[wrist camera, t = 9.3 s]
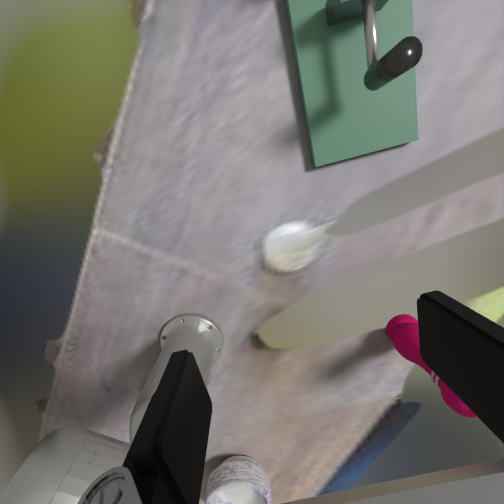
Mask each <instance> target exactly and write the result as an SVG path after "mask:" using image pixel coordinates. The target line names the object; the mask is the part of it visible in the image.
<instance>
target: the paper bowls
mask: <svg viewBox="0 0 504 504" xmlns="http://www.w3.org/2000/svg"><path fill="white" fill-rule="evenodd" d="M271 503H272V501H271V490H270V479H269V475H268V473H267V472H266V471H265V470H264V469H263V468H262V467H260V466H259V465H258V463H257V462H256V461H255V460H253V459H252V458H250V457H247V456H240V455H239V456H232V457H229V458H227V459H226V460H224V461H223V462H222V463H221V464H220V466H218V467H217V468H215V469H214V470H213V471H212V472H211V474H210V476H209V478H208V482H207V490H206V499H205V504H271Z"/></svg>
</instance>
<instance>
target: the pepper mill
mask: <svg viewBox="0 0 504 504" xmlns="http://www.w3.org/2000/svg"><path fill="white" fill-rule="evenodd" d="M386 333H387V335H388V337H389V338H390V339H391V340H392V341H393V342H394V346H395V348H396V350H397V351H398V352H399V353H400V354H401V355H402V356H403V357H404V358H406V359H407V360H409V361H411V362H413V363H415V364H417V365H419V366H421V367H422V368H423V369H424V370H425V371H426V372H428V373H429V375H430V376H431V381H432V382H433V384H434V385H436V387H437V388H438V389H439V390H440V391H441V395H442V398H443V400H444V401H445V402H446V404H447V405H448V406H449V407H450V408H451V409H452V410H454V411H455V412H457V413H458V414H460V415H463V416H466V417H471V418H476V417H477V416H476V415H475V414H474V413H473V412H472V410H471V409H470V408H469V407H468V406H467V405H466V404H465V403H464V402H463V401H462V400H461V399H460V398H459V397H458V396H457V395H456V394H455V393H454V392H453V391H452V390H451V389H450V388H449V387H448V386H447V385H446V384H445V383H444V382H443V381H442V380H441V379H440V378H439V377H438V376H437V375H436V374H435V373H434V372H433V371H432V370H431V369H430V368H429V367H428V366H427V365H426V364H425V362H424V361H423V360H422V358H421V355H420V344H419V328H418V321H417V320H416V319H415V318H414V317H412V316H410V315H406V314H402V315H398V316H395V317H394V318H392V319H391V320H390V321H389V322H388V324H387V326H386Z"/></svg>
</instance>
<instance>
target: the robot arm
mask: <svg viewBox="0 0 504 504" xmlns="http://www.w3.org/2000/svg"><path fill="white" fill-rule="evenodd" d="M417 313H418V328H419V344H420V355H421V358H422V360H423V361H424V362H425V364H426V365H427V366H428V367H429V368H430V369H431V370H432V371H433V372H434V373H435V374H436V375H437V376H438V377H439V378H440V379H441V380H442V381H443V382H444V383H445V384H446V385H447V386H448V387H449V388H450V389H451V390H452V391H453V392H454V393H455V394H456V395H457V396H458V397H459V398H460V399H461V400H462V401H463V402H464V403H465V404H466V405H467V406H468V407H469V408H470V409H471V410H472V412H473V413H474V414H475V415H476V416H477V417H478V418H479V419H480V420H481V421H482V422H483V423H484V424H485V425H486V426H487V427H488V428H489V429H490V430H491V431H492V432H493V433H494V434H495V435H496V436H497V437H498V438H499V439H500V440H501V441H502V442H503V443H504V328H503V327H502V326H500V325H498V324H496V323H495V322H493V321H491V320H489V319H488V318H486V317H484V316H482V315H481V314H479V313H477V312H475V311H474V310H472V309H470V308H468V307H467V306H465V305H463V304H461V303H460V302H458V301H456V300H454V299H453V298H451V297H449V296H447V295H446V294H444V293H442V292H440V291H432V292H428V293H424V294H421V296H420V298H419V299H418V300H417ZM160 345H161V348H162V351H161V353H160V355H159V357H158V359H157V361H156V363H155V365H154V367H153V369H152V371H151V373H150V375H149V377H148V379H147V381H146V383H145V385H144V387H143V389H142V392H141V394H140V396H139V398H138V400H137V402H136V404H135V406H134V408H133V411H132V414H131V418H130V426H129V435H130V444H129V443H127V442H124V441H121V440H118V439H115V438H112V437H109V436H106V435H103V434H100V433H97V432H94V431H91V430H88V429H85V428H81V427H76V426H64V427H61V428H58V429H56V430H54V431H52V432H51V433H49V434H48V435H47V436H45V437H44V438H43V439H42V440H41V441H40V442H39V443H38V444H37V445H36V446H35V448H34V449H33V450H32V451H31V452H30V454H29V455H28V456H27V457H26V459H25V460H24V461H23V463H22V464H21V465H20V467H19V468H18V470H17V471H16V472H15V474H14V476H13V477H12V478H11V480H10V481H9V483H8V484H7V486H6V487H5V489H4V490H3V491H2V493H1V494H0V504H199V499H200V492H201V485H202V478H203V471H204V463H205V456H206V449H207V442H208V435H209V428H210V421H211V414H212V402H211V399H210V396H209V394H208V391H207V385H208V382H209V381H211V376H210V369H211V364H212V363H213V362H214V361H215V360H216V359H217V358H218V357H219V356H220V354H221V351H222V347H223V336H222V333H221V331H220V329H219V328H218V326H217V325H216V324H215V323H214V322H212V321H211V320H210V319H208V318H206V317H204V316H200V315H196V314H185V315H180V316H177V317H175V318H173V319H172V320H170V321H169V322H168V323H167V324H166V326H165V327H164V329H163V331H162V333H161V336H160ZM282 504H504V459H501V460H495V461H490V462H485V463H480V464H475V465H470V466H464V467H460V468H454V469H450V470H444V471H439V472H434V473H429V474H424V475H419V476H414V477H409V478H404V479H400V480H394V481H389V482H384V483H379V484H375V485H369V486H365V487H360V488H355V489H350V490H345V491H340V492H335V493H330V494H325V495H320V496H315V497H311V498H306V499H301V500H296V501H292V502H287V503H282Z"/></svg>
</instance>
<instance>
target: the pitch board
mask: <svg viewBox="0 0 504 504" xmlns="http://www.w3.org/2000/svg"><path fill="white" fill-rule="evenodd" d="M285 1H286V7H287V13H288V19H289V25H290V31H291V37H292V43H293V49H294V55H295V61H296V67H297V73H298V78H299V84H300V90H301V96H302V102H303V108H304V114H305V120H306V126H307V132H308V138H309V144H310V150H311V155H312V161H313V167H318V166H322V165H326V164H329V163H333V162H337V161H341V160H344V159H348V158H352V157H356V156H359V155H363V154H367V153H371V152H374V151H378V150H382V149H386V148H389V147H393V146H397V145H401V144H404V143H408V142H412V141H416V140H418V126H417V102H416V77H415V66H414V67H413V68H411V69H410V70H408V71H406V72H405V73H403V74H402V75H400V76H399V77H397V78H395V79H394V80H392V81H391V82H389V83H388V84H386V85H384V86H383V87H381V88H380V89H378V90H376V91H370V90H368V89H367V88H366V87H365V85H364V75H365V73H366V71H367V70H368V68H367V57H366V46H365V36H364V25H363V16H360V17H357V18H354V19H351V20H347V21H344V22H341V23H338V24H334V25H331V26H328V22H327V15H326V7H325V4H326V2H327V0H285ZM376 21H377V34H378V47H379V59H380V58H381V57H383V56H384V55H385V54H386V53H387V52H388V51H390V50H391V49H392V48H393V47H394V46H395V45H396V44H398V43H399V42H400V41H401V40H402V39H404V38H405V37H408V36H414V29H413V5H412V0H388V2H387V3H386V4H385V5H384V7H383V8H382V9H381V10H380V11H377V12H376Z"/></svg>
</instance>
